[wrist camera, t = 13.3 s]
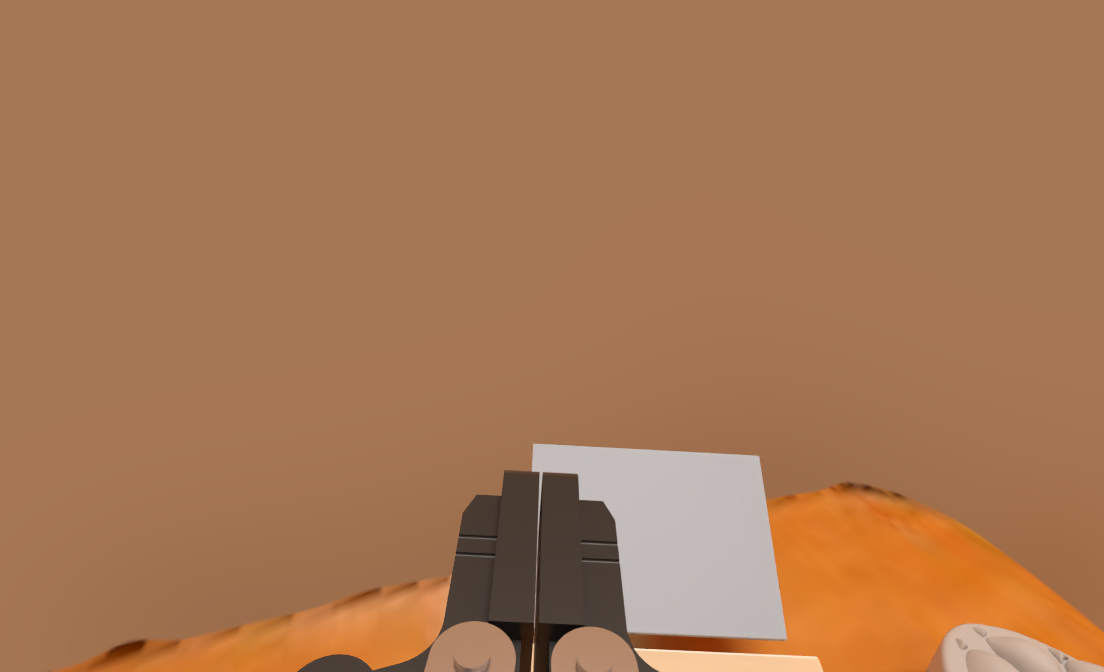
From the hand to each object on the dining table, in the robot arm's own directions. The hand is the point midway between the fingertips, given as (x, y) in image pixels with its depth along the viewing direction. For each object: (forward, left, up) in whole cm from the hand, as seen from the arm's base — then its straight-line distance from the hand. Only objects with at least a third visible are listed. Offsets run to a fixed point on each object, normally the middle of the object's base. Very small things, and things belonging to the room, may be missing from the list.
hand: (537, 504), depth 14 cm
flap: (+8, +17, -26) cm, 31 cm away
